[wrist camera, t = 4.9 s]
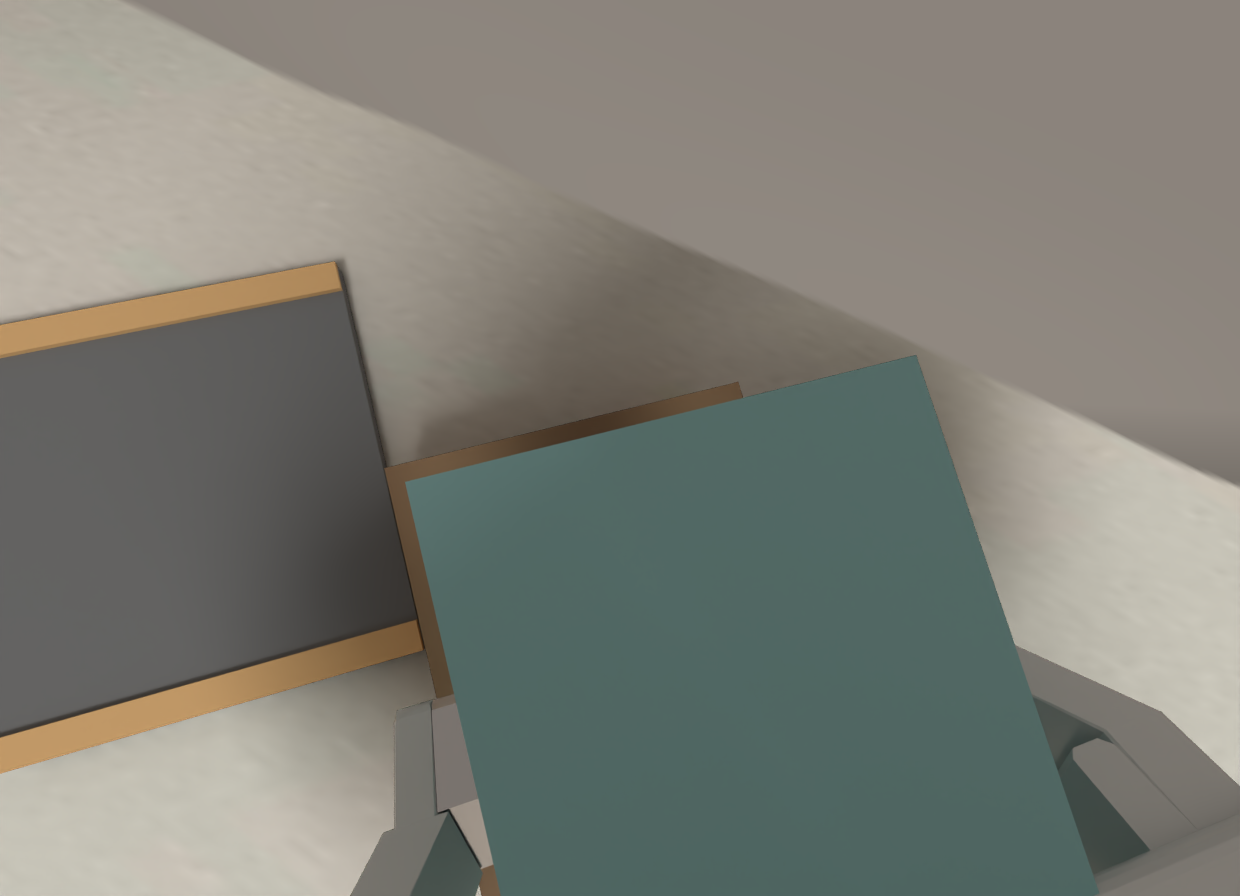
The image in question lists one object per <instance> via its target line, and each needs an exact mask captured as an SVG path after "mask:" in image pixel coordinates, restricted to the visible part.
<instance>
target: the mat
mask: <svg viewBox="0 0 1240 896" xmlns="http://www.w3.org/2000/svg"><path fill="white" fill-rule="evenodd" d="M384 468H386V464H385V459H384V455H383V451H382V446H381V442H380V437H379V433H378V429H377V424H376V420H375V416H374V411H373V407H372V402H371V398H370V394H369V389H368V385H367V380H366V376H365V372H364V367H363V363H362V359H361V354H360V350H359V345H358V341H357V337H356V332H355V328H354V324H353V319H352V315H351V310H350V306H349V302H348V297H347V293H346V288H345V284H344V280H343V275H342V272H341V270H340V269H339V267H338V266H337V264H336V263H335V261H334V262H329V263H324V264H318V265H313V266H308V267H303V268H297V269H292V270H287V271H282V272H276V273H271V274H266V275H261V276H255V277H250V278H245V279H240V280H234V281H229V282H224V283H219V284H213V285H208V286H203V287H198V288H192V289H187V290H182V291H177V292H171V293H166V294H161V295H156V296H150V297H145V298H140V299H135V300H129V301H124V302H119V303H114V304H108V305H103V306H98V307H93V308H87V309H82V310H77V311H71V312H66V313H61V314H56V315H50V316H45V317H40V318H35V319H29V320H24V321H19V322H14V323H8V324H3V325H0V774H1V773H4V772H7V771H11V770H14V769H18V768H21V767H25V766H28V765H31V764H35V763H38V762H42V761H45V760H49V759H52V758H55V757H59V756H62V755H66V754H69V753H73V752H76V751H79V750H83V749H86V748H90V747H93V746H97V745H100V744H104V743H107V742H110V741H114V740H117V739H121V738H124V737H128V736H131V735H134V734H138V733H141V732H145V731H148V730H152V729H155V728H158V727H162V726H165V725H169V724H172V723H176V722H179V721H182V720H186V719H189V718H193V717H196V716H200V715H203V714H206V713H210V712H213V711H217V710H220V709H224V708H227V707H230V706H234V705H237V704H241V703H244V702H248V701H251V700H254V699H258V698H261V697H265V696H268V695H272V694H275V693H278V692H282V691H285V690H289V689H292V688H296V687H299V686H302V685H306V684H309V683H313V682H316V681H320V680H323V679H326V678H330V677H333V676H337V675H340V674H344V673H347V672H350V671H354V670H357V669H361V668H364V667H368V666H371V665H374V664H378V663H381V662H385V661H388V660H392V659H395V658H398V657H402V656H405V655H409V654H412V653H416V652H419V651H422V650H424V649H425V644H424V640H423V636H422V631H421V627H420V623H419V618H418V614H417V609H416V605H415V601H414V596H413V592H412V587H411V583H410V579H409V574H408V570H407V565H406V561H405V557H404V552H403V548H402V544H401V539H400V535H399V530H398V526H397V522H396V517H395V513H394V508H393V504H392V500H391V495H390V491H389V486H388V482H387V478H386V473H385V469H384Z"/></svg>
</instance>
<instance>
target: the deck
mask: <svg viewBox="0 0 1240 896" xmlns="http://www.w3.org/2000/svg"><path fill="white" fill-rule="evenodd" d="M741 398H743V396H742V393H741V390H740V386H739V383H738V382H736V383H732V384H728V385H724V386H719V387H715V388H711V389H707V390H703V391H699V392H695V393H691V394H687V395H683V396H678V397H674V398H670V399H666V400H662V401H658V402H654V403H650V404H646V405H641V406H637V407H633V408H629V409H625V410H621V411H617V412H613V413H609V414H605V415H600V416H596V417H592V418H588V419H584V420H580V421H576V422H572V423H568V424H564V425H559V426H555V427H551V428H547V429H543V430H539V431H535V432H531V433H527V434H523V435H518V436H514V437H510V438H506V439H502V440H498V441H494V442H490V443H486V444H482V445H477V446H473V447H469V448H465V449H461V450H457V451H453V452H449V453H445V454H440V455H436V456H432V457H428V458H424V459H420V460H416V461H412V462H408V463H404V464H399V465H395V466H391V467H387V468H384V469H385V473H386V478H387V482H388V486H389V491H390V495H391V500H392V504H393V508H394V513H395V517H396V522H397V526H398V530H399V535H400V539H401V544H402V548H403V552H404V557H405V561H406V565H407V570H408V574H409V579H410V583H411V587H412V592H413V596H414V601H415V605H416V609H417V614H418V618H419V623H420V627H421V631H422V636H423V640H424V644H425V649H426V653H427V658H428V662H429V666H430V671H431V675H432V680H433V684H434V688H435V693H436V697H437V699H438V698H441V697H444V696H448V695H451V694H454V691H453V687H452V683H451V679H450V674H449V670H448V666H447V661H446V657H445V653H444V648H443V644H442V640H441V635H440V631H439V627H438V622H437V618H436V614H435V609H434V605H433V601H432V596H431V592H430V588H429V583H428V579H427V575H426V570H425V566H424V562H423V557H422V553H421V549H420V545H419V540H418V536H417V532H416V527H415V523H414V519H413V514H412V510H411V506H410V501H409V497H408V493H407V488H406V484H405V482H407V481H411V480H415V479H419V478H423V477H427V476H431V475H435V474H439V473H443V472H447V471H451V470H455V469H459V468H463V467H467V466H471V465H475V464H479V463H483V462H487V461H491V460H495V459H499V458H503V457H507V456H511V455H515V454H519V453H523V452H527V451H532V450H536V449H540V448H544V447H548V446H552V445H556V444H560V443H564V442H568V441H572V440H576V439H580V438H584V437H588V436H592V435H596V434H600V433H604V432H608V431H612V430H616V429H620V428H624V427H628V426H632V425H636V424H640V423H644V422H648V421H652V420H656V419H660V418H664V417H668V416H672V415H676V414H680V413H684V412H688V411H692V410H697V409H701V408H705V407H709V406H713V405H717V404H721V403H725V402H729V401H733V400H737V399H741ZM481 871H482V872H483V874H482V877H481V880H480V883H479V886H480V890H481V895H482V896H501V895H500V890H499V886H498V882H497V877H496V873H495V869H494V864H493V865H491V866H488V867H485V868H483V869H481Z"/></svg>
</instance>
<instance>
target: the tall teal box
mask: <svg viewBox="0 0 1240 896" xmlns="http://www.w3.org/2000/svg"><path fill="white" fill-rule="evenodd" d="M405 484H406V488H407V493H408V497H409V501H410V506H411V510H412V514H413V519H414V523H415V527H416V532H417V536H418V540H419V545H420V549H421V553H422V557H423V562H424V566H425V570H426V575H427V579H428V583H429V588H430V592H431V596H432V601H433V605H434V609H435V614H436V618H437V622H438V627H439V631H440V635H441V640H442V644H443V648H444V653H445V657H446V661H447V666H448V670H449V674H450V679H451V683H452V687H453V691H454V696H455V700H456V704H457V709H458V713H459V717H460V722H461V726H462V730H463V735H464V739H465V743H466V748H467V752H468V756H469V761H470V765H471V769H472V774H473V778H474V782H475V787H476V791H477V795H478V800H479V804H480V808H481V813H482V817H483V821H484V826H485V830H486V834H487V838H488V843H489V847H490V851H491V856H492V860H493V864H494V869H495V873H496V877H497V882H498V886H499V890H500V895H501V896H1095V895H1097V894H1099V891H1098V888H1097V885H1096V882H1095V879H1094V876H1093V873H1092V870H1091V867H1090V864H1089V861H1088V858H1087V855H1086V852H1085V849H1084V847H1083V844H1082V841H1081V838H1080V835H1079V832H1078V829H1077V826H1076V823H1075V820H1074V817H1073V814H1072V811H1071V808H1070V805H1069V802H1068V800H1067V797H1066V794H1065V791H1064V788H1063V785H1062V782H1061V779H1060V776H1059V773H1058V770H1057V767H1056V764H1055V761H1054V758H1053V756H1052V753H1051V750H1050V747H1049V744H1048V741H1047V738H1046V735H1045V732H1044V729H1043V726H1042V723H1041V720H1040V717H1039V714H1038V712H1037V709H1036V706H1035V703H1034V700H1033V697H1032V694H1031V691H1030V688H1029V685H1028V682H1027V679H1026V676H1025V673H1024V670H1023V667H1022V665H1021V662H1020V659H1019V656H1018V653H1017V650H1016V647H1015V644H1014V641H1013V638H1012V635H1011V632H1010V629H1009V626H1008V623H1007V621H1006V618H1005V615H1004V612H1003V609H1002V606H1001V603H1000V600H999V597H998V594H997V591H996V588H995V585H994V582H993V579H992V577H991V574H990V571H989V568H988V565H987V562H986V559H985V556H984V553H983V550H982V547H981V544H980V541H979V538H978V535H977V532H976V530H975V527H974V524H973V521H972V518H971V515H970V512H969V509H968V506H967V503H966V500H965V497H964V494H963V491H962V488H961V486H960V483H959V480H958V477H957V474H956V471H955V468H954V465H953V462H952V459H951V456H950V453H949V450H948V447H947V444H946V442H945V439H944V436H943V433H942V430H941V427H940V424H939V421H938V418H937V415H936V412H935V409H934V406H933V403H932V400H931V397H930V395H929V392H928V389H927V386H926V383H925V380H924V377H923V374H922V371H921V368H920V365H919V362H918V359H917V356H916V355H914V356H910V357H906V358H902V359H898V360H894V361H890V362H886V363H882V364H878V365H874V366H870V367H866V368H862V369H857V370H853V371H849V372H845V373H841V374H837V375H833V376H829V377H825V378H821V379H817V380H813V381H809V382H805V383H801V384H797V385H793V386H789V387H785V388H781V389H777V390H773V391H769V392H765V393H761V394H757V395H753V396H749V397H745V398H741V399H737V400H733V401H729V402H725V403H721V404H717V405H713V406H709V407H705V408H701V409H697V410H692V411H688V412H684V413H680V414H676V415H672V416H668V417H664V418H660V419H656V420H652V421H648V422H644V423H640V424H636V425H632V426H628V427H624V428H620V429H616V430H612V431H608V432H604V433H600V434H596V435H592V436H588V437H584V438H580V439H576V440H572V441H568V442H564V443H560V444H556V445H552V446H548V447H544V448H540V449H536V450H532V451H527V452H523V453H519V454H515V455H511V456H507V457H503V458H499V459H495V460H491V461H487V462H483V463H479V464H475V465H471V466H467V467H463V468H459V469H455V470H451V471H447V472H443V473H439V474H435V475H431V476H427V477H423V478H419V479H415V480H411V481H407V482H405Z"/></svg>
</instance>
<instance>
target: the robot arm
mask: <svg viewBox="0 0 1240 896" xmlns="http://www.w3.org/2000/svg"><path fill="white" fill-rule="evenodd" d="M1015 647H1016V650H1017V653H1018V656H1019V659H1020V662H1021V665H1022V667H1023V670H1024V673H1025V676H1026V679H1027V682H1028V685H1029V688H1030V691H1031V694H1032V697H1033V700H1034V703H1035V706H1036V709H1037V712H1038V714H1039V717H1040V720H1041V723H1042V726H1043V729H1044V732H1045V735H1046V738H1047V741H1048V744H1049V747H1050V750H1051V753H1052V756H1053V758H1054V761H1055V764H1056V767H1057V770H1058V773H1059V776H1060V779H1061V782H1062V785H1063V788H1064V791H1065V794H1066V797H1067V800H1068V802H1069V805H1070V808H1071V811H1072V814H1073V817H1074V820H1075V823H1076V826H1077V829H1078V832H1079V835H1080V838H1081V841H1082V844H1083V847H1084V849H1085V852H1086V855H1087V858H1088V861H1089V864H1090V867H1091V870H1092V873H1093V876H1094V879H1095V882H1096V885H1097V888H1098V891H1099V894H1097V895H1095V896H1240V786H1239V785H1238V784H1237V783H1236V782H1235V781H1234V780H1233V779H1232V778H1230V777H1229V776H1228V775H1227V774H1226V773H1225V772H1224V771H1223V770H1222V769H1221V768H1220V767H1219V766H1218V765H1217V764H1216V763H1215V762H1214V761H1213V760H1212V759H1210V758H1209V757H1208V756H1207V755H1206V754H1205V753H1204V752H1203V751H1202V750H1201V749H1200V748H1199V747H1198V746H1197V745H1196V744H1195V743H1194V742H1193V741H1192V740H1190V739H1189V738H1188V737H1187V736H1186V735H1185V734H1184V733H1183V732H1182V731H1181V730H1180V729H1179V728H1178V727H1177V726H1176V725H1175V724H1174V723H1173V722H1172V721H1171V720H1169V719H1168V718H1167V717H1166V716H1165V715H1164V714H1163V713H1162V712H1161V711H1158V710H1156V709H1154V708H1152V707H1150V706H1147V705H1145V704H1143V703H1141V702H1139V701H1136V700H1134V699H1132V698H1130V697H1128V696H1125V695H1123V694H1121V693H1119V692H1117V691H1114V690H1112V689H1110V688H1108V687H1106V686H1104V685H1101V684H1099V683H1097V682H1095V681H1093V680H1090V679H1088V678H1086V677H1084V676H1082V675H1079V674H1077V673H1075V672H1073V671H1071V670H1068V669H1066V668H1064V667H1062V666H1060V665H1057V664H1055V663H1053V662H1051V661H1049V660H1047V659H1044V658H1042V657H1040V656H1038V655H1036V654H1033V653H1031V652H1029V651H1027V650H1025V649H1022V648H1020V647H1018V646H1016V645H1015ZM491 865H493V860H492V856H491V851H490V847H489V843H488V838H487V834H486V830H485V826H484V821H483V817H482V813H481V808H480V804H479V800H478V795H477V791H476V787H475V782H474V778H473V774H472V769H471V765H470V761H469V756H468V752H467V748H466V743H465V739H464V735H463V730H462V726H461V722H460V717H459V713H458V709H457V704H456V700H455V696H454V694H451V695H448V696H444V697H441V698H438V699H434V700H429V701H426V702H423V703H420V704H416V705H413V706H410V707H407V708H403V709H400V710H397V713H396V717H395V721H394V829H392V830H389V831H386V832H384V833H383V834H382V836H381V838H380V840H379V842H378V844H377V846H376V848H375V850H374V852H373V854H372V855H371V857H370V859H369V861H368V863H367V865H366V867H365V869H364V871H363V873H362V874H361V876H360V878H359V880H358V882H357V884H356V886H355V888H354V890H353V892H352V893H351V895H350V896H475V895H476V892H477V889H478V886H479V883H480V880H481V877H482V874H483V872H482V871H481V869H483V868H485V867H488V866H491Z"/></svg>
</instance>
